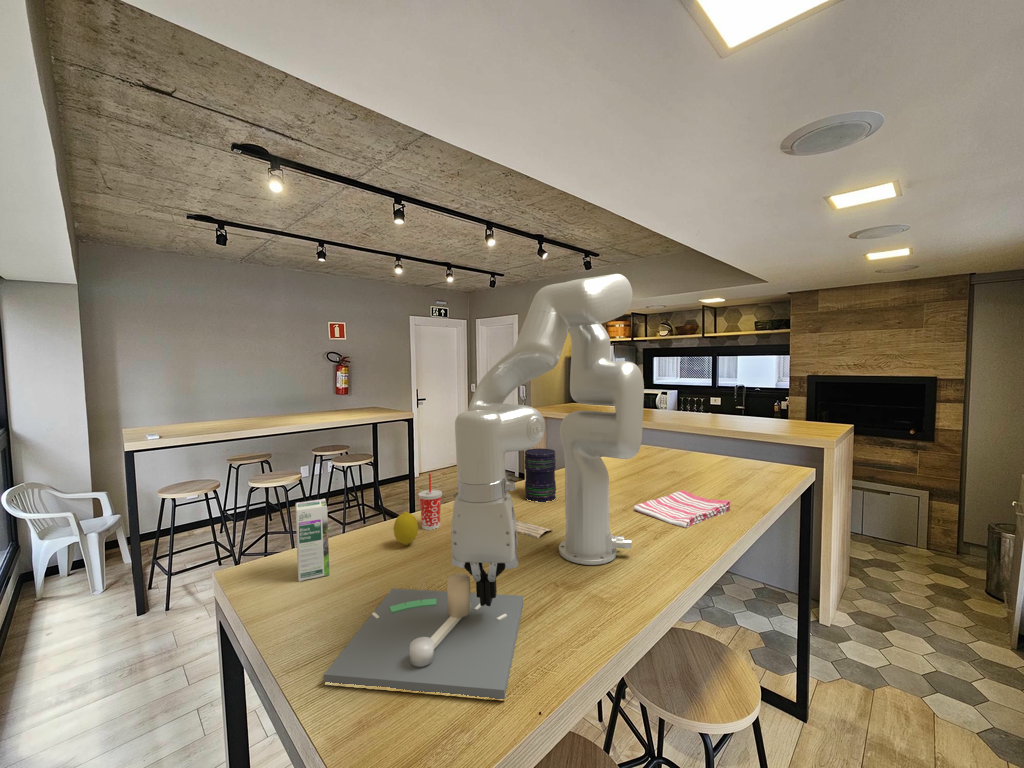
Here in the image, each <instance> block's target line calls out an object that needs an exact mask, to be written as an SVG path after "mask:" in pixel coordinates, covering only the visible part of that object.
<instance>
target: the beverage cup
mask: <svg viewBox="0 0 1024 768" xmlns="http://www.w3.org/2000/svg"><path fill="white" fill-rule="evenodd" d="M431 475H432V474H431V473H428V488H429V489H425V490H422V491H420V492H418V499H419V509H420V519H421V529H422V530H424V529H425V530H424V531H433V530H432V529H434V530H436V529H435V528H437V529H439V528H440V527H441V508H442V507H441V505H442V500H441V499H442V496H443V492H442V490H439V489H432V479H431ZM439 526H440V527H439ZM438 527H439V528H438Z"/></svg>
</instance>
